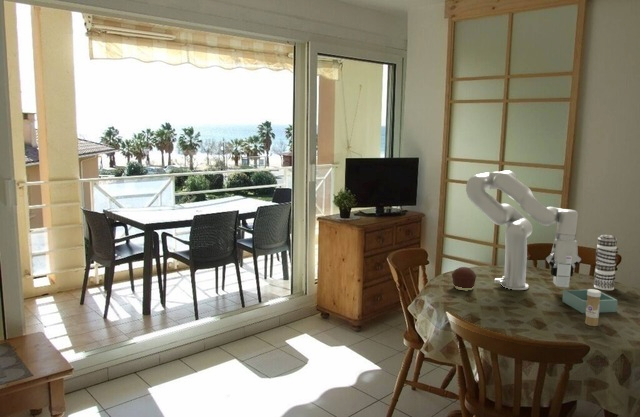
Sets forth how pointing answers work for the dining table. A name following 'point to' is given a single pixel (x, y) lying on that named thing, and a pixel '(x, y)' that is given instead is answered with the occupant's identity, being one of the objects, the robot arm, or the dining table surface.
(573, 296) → the tote
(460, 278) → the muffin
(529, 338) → the dining table surface
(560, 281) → the syrup box
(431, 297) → the dining table surface
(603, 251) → the decorative candle
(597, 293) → the sprinkles bottle
